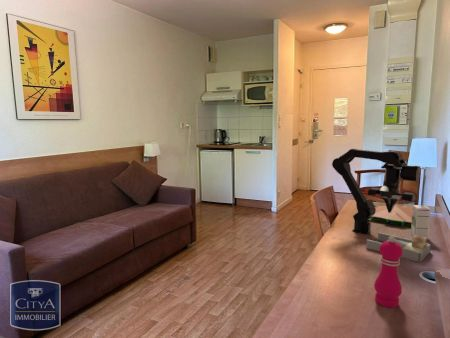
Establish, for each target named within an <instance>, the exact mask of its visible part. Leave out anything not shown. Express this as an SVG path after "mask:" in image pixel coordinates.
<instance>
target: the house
mask: <svg viewBox="0 0 450 338" xmlns="http://www.w3.org/2000/svg"><path fill="white" fill-rule="evenodd" d="M375 209H376V212H375V214H374V215H373V216H371V218H370V219H369V220H370V222H371V220H373V219H374V221H375V222H377V219H376V218H378V219H379V221H383V222H386V223H388V222H390V224H395V225H398V224H399V225H398V226H399V227H400V226H401V227H403V226H404V225H405V226H410V225H411V224H412V212H413V206H412V207H411V206H407V205H403V206H401V205H398V204H395V205H394V207H393V209H392V211H391V213H388V210H387V207H386V205H378V206H376V207H375Z"/></svg>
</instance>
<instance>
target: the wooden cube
mask: <svg viewBox="0 0 450 338" xmlns="http://www.w3.org/2000/svg"><path fill="white" fill-rule="evenodd" d="M411 240H412V247H414V248H419V249H423V248H425V247H426V243H427V239H426V237H422V236H417V235H415V236H414V237H413V236H412V239H411Z"/></svg>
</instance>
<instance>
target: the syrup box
mask: <svg viewBox="0 0 450 338" xmlns="http://www.w3.org/2000/svg"><path fill="white" fill-rule="evenodd" d="M412 208H413V212H412V223H411V224H410V227H411V228H410V235H411V236H412V238H413V237H414V236H415V235H417V236H422V237H426V240H428V239H429V233H430V232H429V229H430V216H431V215H430V214H431V208H430V207H428V206H427V205H419V204H417V205H415V204H414V205H412Z"/></svg>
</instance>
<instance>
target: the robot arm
mask: <svg viewBox="0 0 450 338" xmlns="http://www.w3.org/2000/svg"><path fill="white" fill-rule="evenodd" d="M355 158H357V159H358V158H360V159H365V160H366V159H368V160H374V161H375V160H376V161H380V162H382V163H384V164H383V165H382V166H381V167H380V168H381V169H385V177H384V182H383V185H382V186H381V188H379V187H371V188H369V189H368V190H367V195H369V196H374V197H375V196H376V195H379V196H380V199H382V200H383V201H384V203H385V206H386V207H387V210H388V213H391V211H392V209H393V207H394V205H397V204H396V203H397V202H398V201H400V200H401V199H402V200H403V201H406V202H413V201H415V200H416V194H415V193H414V192H408V191H405V192H403V193H402V192H401V193H400V190H399V188H400V182H401V180H400V179H402V181H406V182H414V183H415V182H419V180H420V176H421V173H420V166H419V165H408V164H407V163H406V161H405V159H404V158H403V153H401V152H400V151H398V150H391V151H390V150H389V151H377V150H375V151H374V150H368V149H366V150H364V149H358V148H351V149H350V148H349V150H348V151H347V152H345V153H344V154H341V155H340V156H339V157H336V158H334V159H333V160H332V162H331V166H332V168H333V169H334V170H335V171H336V173H337V174H339V175H340V176H341V177H342V179H343V181H344V183H345V184H346V186H347V188H348V190H349V192H350V193H351V195H352V197H353V199H354V201H355V205H356V210H357V212H356V213H354V215H353V216H352V217H353V220H354V226H353V229H352V232H354V233H359V234H363V235H367V234H369V233H370V232H371V228H372V227H371V226H372V223H371V221H370V218H371V216H373V215H374V214H375V212H376V208H377V206H376V205H375V204H374V202H373V200H372V199H369V200H368V199H367V198H366V197H365V195H364V193H363V191H362V190H361V187H360V186H359V184H358V182H357V181H356V179H355V177H354V176H353V173H352V170H351V164H350V163H351V162H352V161H353V160H354V159H355Z"/></svg>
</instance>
